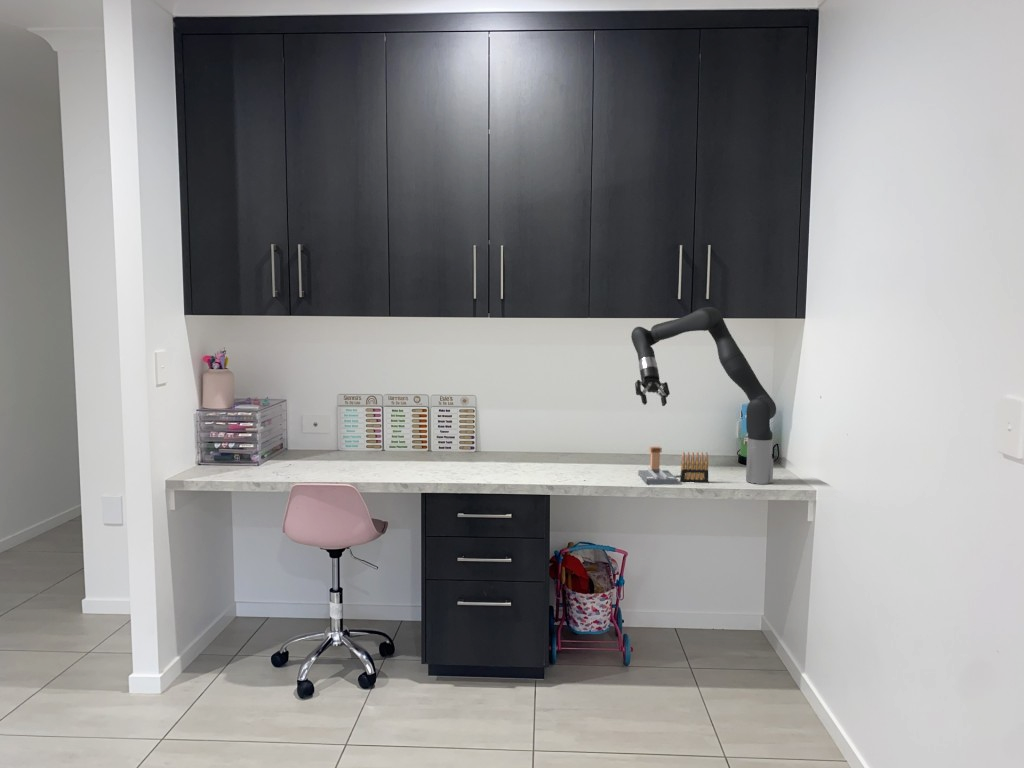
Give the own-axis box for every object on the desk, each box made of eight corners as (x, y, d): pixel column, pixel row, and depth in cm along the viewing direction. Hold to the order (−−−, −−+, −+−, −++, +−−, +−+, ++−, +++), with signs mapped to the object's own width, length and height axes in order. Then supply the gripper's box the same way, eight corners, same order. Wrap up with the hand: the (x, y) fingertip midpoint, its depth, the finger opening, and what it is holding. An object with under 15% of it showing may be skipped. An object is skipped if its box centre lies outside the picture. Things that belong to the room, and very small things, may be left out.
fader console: (667, 475, 323) (667, 467, 323) (677, 484, 307) (677, 476, 307) (638, 475, 322) (638, 467, 322) (646, 484, 307) (646, 476, 306)
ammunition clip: (707, 481, 312) (708, 451, 310) (708, 483, 310) (709, 452, 309) (680, 481, 313) (680, 451, 311) (680, 482, 311) (681, 452, 309)
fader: (659, 470, 321) (660, 446, 320) (661, 472, 318) (661, 448, 317) (648, 470, 321) (649, 446, 320) (650, 472, 318) (650, 448, 317)
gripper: (637, 364, 329) (642, 399, 322) (668, 367, 333) (674, 401, 326) (629, 373, 336) (635, 407, 328) (660, 375, 340) (666, 409, 332)
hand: (654, 404), depth 327 cm, fingers open, 8 cm apart
